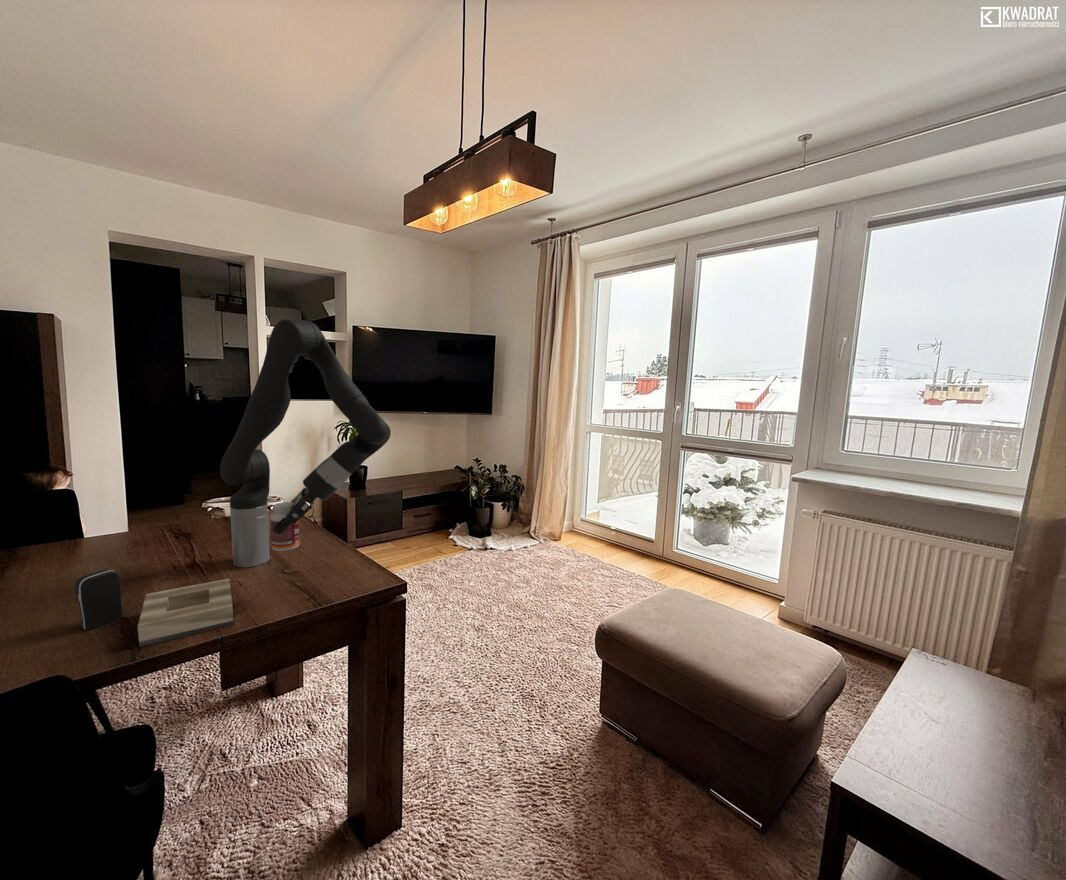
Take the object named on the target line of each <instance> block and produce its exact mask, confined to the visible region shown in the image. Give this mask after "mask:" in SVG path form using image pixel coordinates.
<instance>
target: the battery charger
mask: <svg viewBox="0 0 1066 880" xmlns="http://www.w3.org/2000/svg"><path fill="white" fill-rule="evenodd" d="M119 574H120V573H118V572H117V571H116V570H113V569H112V570H111V569H102V570H99V571H96V572H92V573H89V574H86V575H83V576H81V577H80V576H79V578H78V579H76V581H75V582H74V598H75V602H77V603H78V605H79V611H80V615H81V616H80V617H81V621H80V627H81V628H82V629H83V630H85V631H86V630H87V631H89V630H91V629H94V628H97V627H101V626H103V625H105V624H108V623H110V622H112V621H114V620H117V619H119V618H121V617H122V616H124V615H123V607H122V606H123V605H122V587H121V577H120V575H119Z"/></svg>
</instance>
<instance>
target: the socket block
mask: <svg viewBox="0 0 1066 880" xmlns="http://www.w3.org/2000/svg"><path fill="white" fill-rule="evenodd" d="M233 610H234V609H233V597H232V590H231V580H230V578H225V579H219V580H214V581H209V582H203V583H197V584H194V585H192V584H191V585H187V586H182V587H178V588H172V589H165V590H160V591H155V592H151V593H145V597H144V601H143V604H142V609H141V612H140V616H139V620H138V624H137V633H138V642H139V643H138V645H139V648H141V647H144V646H145V647H146V646H149V645H153V644H158V643H161V642H166V641H171V640H175V639H178V638H179V639H180V638H183V637H187V636H191V635H195V634H196V635H197V634H199V633H204V632H209V631H212V630H216V629H220V628H225V627H230V626H233V625H234V612H233Z"/></svg>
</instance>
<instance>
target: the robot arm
mask: <svg viewBox="0 0 1066 880" xmlns="http://www.w3.org/2000/svg"><path fill="white" fill-rule="evenodd" d="M300 356H301V357H302V356H303V357H307V358H308V359H309V360H310V361H311V362H312V363H314V365H315V367H316V368H317V369H318V371H319V372H320V374H321V376H322V378H323V383H324V387H325V390H326V392H327V394H328V396H329V398H330V399H331V401H332V402H333V404H335V406H336V407H337V408H338V410H339V411H340V412H341V413H342V414H343V416H345V417H346V418H347V419H348V420H349V422H350V424H351V425H352V427H353V428H354V430H355V431H356V432H357V434H356V435H355V436H354V437H353V438H352V439H351V440H348V441H345V442H344V443H342V444H341V445H340V446H339V447H337V448H336V449H335V450H334V451H333V453H331V455H329V456H328V457H327V458H325V459H324V460H322V461H321V463H319V464H318V465H317V467H316V468H314V469H313V471H311V472H310V473H309V474H308V475H306V477H305V478H304V479H303V480H302V484H303V485H304V486H305V487H303V488H302V490H301V491H300V492H298V494H297V495H296V496H295V497H294V498H292V499H291V501H290V502H292V503H293V504H292V505H291V507H290V508H289V509H290V511H289V512H288V513H287V514H286V515H285V517H284V518H283V519H282V520H281V521H280V522H279V523H278V524H277V525H275V526H274V527H273V531H274V532H276V533H277V534H281V533H282V532H283V531H284V530H285V529H286V528H287V527H288V526H289V525H290V524H291V523H292V524H295V523H296V522H297V521H298V520H299V521H300V519H302V518H303V516H304V515H306V514H307V512H310V510H311V509H313V507H314V505H315V503H314V502H315V501H316V499H317V498H318V499H320V500H321V501H327V500H329V498H331V496H333V494H334V493H336V492H337V491H338V489H340V488H341V487H342V486H343V485H344V484H345V483H346V482H347V481H348V480H349V478H350V476H351V475H352V474H353V473H354V472H356V470H358V469H359V468H360V467H361V465H363V464H364V462H365V461H366V460H367V459H368V458H370V457H371V456H373V455H374V454H375V453H376V452H377V451H379V450H380V449H381V448H383V446H385V445H386V444H387V442H388V441H389V439H390V438H391V434H392V433H391V428H390V426H389V425H388V424H387V423H388V422H386V421H385V420H384V419H383V418H382V417H381V416H380V415H379V413H378V412H377V411H376V410H375V409H374V408H373V407H372V406H371V404H370V402H369V401H368V398H366V396H365V395H364V394H363V393H362V391H361V390H360V389H359V387H358V386H357V385H356V384H355V382H354V381H353V380H352V379H351V378H350V376H349V375H348V374H347V372H346V370H345V369H344V367H343V366H342V365H341V363H340V361H339V360H338V357H337V356H336V354H335V353H334V350H333V349H332V347H331V346H330V343H328V340H327V339H326V337H325V335H324V333H323V332H322V331H321V329H320V328H319V326H318V325H317V324H316V323H313V322H312V321H309V320H303V319H294V318H293V319H292V318H286V319H285V318H284V319H280V320H279V321H278V322H277V323H276V324H275V325H274V327H273V328H272V330H271V334H270V337H269V340H268V344H267V348H266V351H265V356H264V360H263V362H262V363H263V364H262V366H261V369H260V371H259V375H258V377H257V380H256V383H255V386H254V388H253V390H252V391H251V392H252V393H251V395H250V397H249V400H248V402H247V404H246V408H245V411H244V413H243V417H242V419H241V421H240V423H239V425H238V428H237V430H236V432H235V435H234V437H233V438H232V440H231V442H230V443H229V446H228V447H227V449H226V451H225V452H224V454H223V456H222V459H221V463H220V467H219V470H220V471H219V472H220V476H221V479H222V481H224V483H226V484H228V485H231V486H232V485H233V486H237V485H243V486H242V487H241V488H240V489H239V490H238V491H237V492H235V493H234V494H233V495H231V497H230V498H229V512H230V515H229V516H230V528H231V529H230V530H231V545H232V546H231V547H232V565H233V566H234V567H237V568H250V567H252V568H253V567H256V566H260V565H264V564H266V563H268V562H269V561H270V557H271V556H270V535H269V532H270V531H269V513H268V499H269V495H270V480H271V479H270V478H271V477H270V474H271V473H270V472H271V469H270V462H269V458H268V456H267V454H266V453H265V452H264V451H263V450H261V449H257V448H258V446H259V445H260V444H261V443H262V442H263V441H264V440H265V439H267V438H268V437H269V436H270V435H271V434H272V433H273V432H274V431H275V430H276V429H277V428H278V427H280V425H281V423H282V422H283V420H284V418H285V415H286V414H287V411H288V410H289V406H290V403H291V396H292V395H291V390H290V389H291V388H290V384H289V375H290V374H289V373H290V371H291V369H292V366H293V364H294V362H295V361H296V358H297V357H300ZM293 513H295V514H296V516H295V518H294V517H293V516H292V514H293Z"/></svg>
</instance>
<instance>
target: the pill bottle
mask: <svg viewBox="0 0 1066 880" xmlns="http://www.w3.org/2000/svg"><path fill="white" fill-rule="evenodd" d="M292 504H293V503H292V502H291V501H283V502H277V503H274V504H273V506H272V507H273V508H272V511H273V513H271V515H270V521H269V522H270V540H271V541H270V542H271V543H270V544H271V545H270V546H271V549H272V550H274V551H275V552H286V551H290V550H294V549H296V548H298V547H299V545H300V532H299V531H300V527H299V526H300V522H299V521H300V519H299V520H298V521H297V522H296V523H295V524H292V523H291V524H290V525H289V526H288V527H287V528H286V529H285V530H284V531H283V532H282V533H281V534H277V533H276V532H274V531H273V527H274V526H275V525H277V524H278V523H279V522H280V521H281V520H282V519H283V518H284V517H285V515H286V514H287V513H288V512H289V511H290V509H289V508H290V507H291V505H292ZM292 516H293V517H294V518H295V516H296V514H295V513H293V514H292Z"/></svg>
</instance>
